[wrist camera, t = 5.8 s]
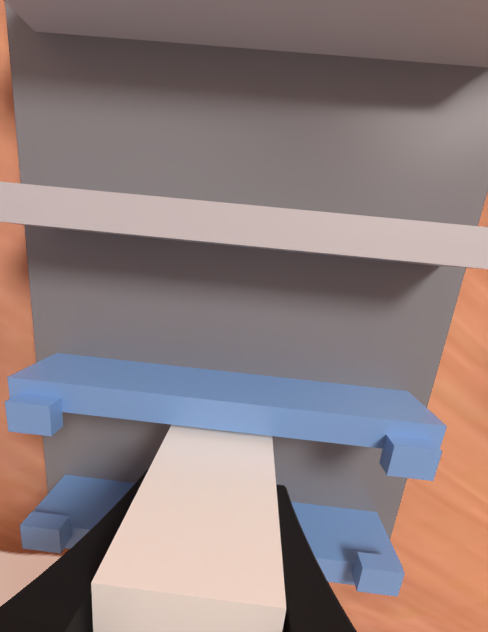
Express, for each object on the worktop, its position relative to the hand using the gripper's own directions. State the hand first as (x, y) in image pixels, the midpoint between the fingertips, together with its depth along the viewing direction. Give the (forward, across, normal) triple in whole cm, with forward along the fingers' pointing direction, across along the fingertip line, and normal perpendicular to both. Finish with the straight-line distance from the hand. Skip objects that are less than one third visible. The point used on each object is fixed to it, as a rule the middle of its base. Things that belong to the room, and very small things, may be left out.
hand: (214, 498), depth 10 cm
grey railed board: (+4, 0, -7) cm, 8 cm away
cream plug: (+2, 0, 0) cm, 2 cm away
